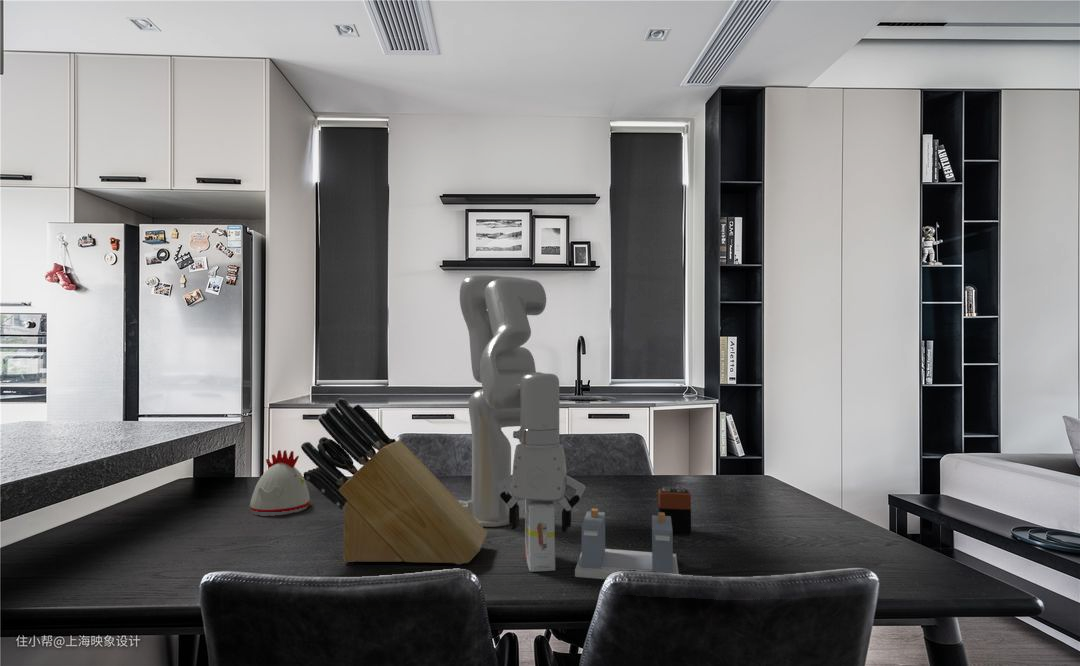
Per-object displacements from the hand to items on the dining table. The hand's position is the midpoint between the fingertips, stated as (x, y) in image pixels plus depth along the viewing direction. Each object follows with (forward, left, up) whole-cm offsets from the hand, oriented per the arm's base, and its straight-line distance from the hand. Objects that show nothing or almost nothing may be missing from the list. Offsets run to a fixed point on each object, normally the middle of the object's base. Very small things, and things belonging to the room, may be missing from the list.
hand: (540, 529), depth 102 cm
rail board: (+16, +1, -6) cm, 18 cm away
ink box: (0, 0, -7) cm, 7 cm away
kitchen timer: (-73, +23, -7) cm, 77 cm away
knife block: (-29, -1, -7) cm, 30 cm away
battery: (+26, +25, -7) cm, 37 cm away
